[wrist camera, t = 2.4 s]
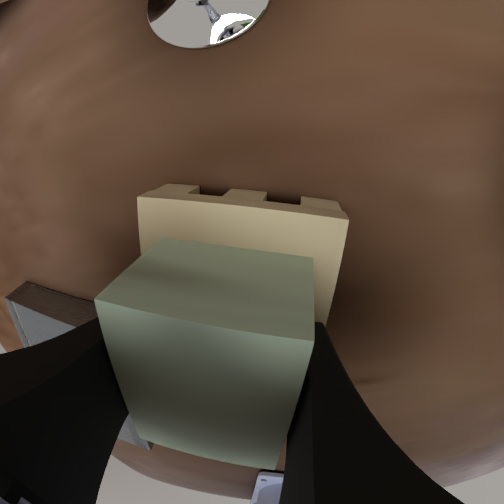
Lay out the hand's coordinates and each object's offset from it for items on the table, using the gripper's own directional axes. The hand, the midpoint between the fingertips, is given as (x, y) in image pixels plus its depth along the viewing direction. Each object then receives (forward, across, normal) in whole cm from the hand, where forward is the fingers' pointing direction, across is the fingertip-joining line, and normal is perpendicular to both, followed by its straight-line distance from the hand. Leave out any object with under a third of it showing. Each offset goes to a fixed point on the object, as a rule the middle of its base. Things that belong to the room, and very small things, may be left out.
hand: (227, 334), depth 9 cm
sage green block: (+2, 0, 0) cm, 2 cm away
